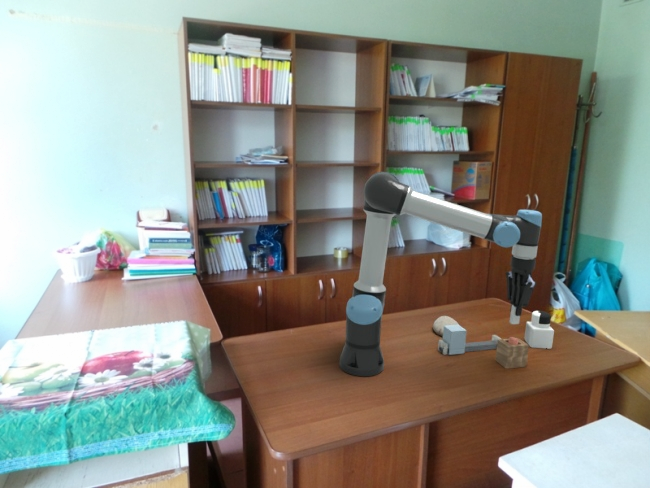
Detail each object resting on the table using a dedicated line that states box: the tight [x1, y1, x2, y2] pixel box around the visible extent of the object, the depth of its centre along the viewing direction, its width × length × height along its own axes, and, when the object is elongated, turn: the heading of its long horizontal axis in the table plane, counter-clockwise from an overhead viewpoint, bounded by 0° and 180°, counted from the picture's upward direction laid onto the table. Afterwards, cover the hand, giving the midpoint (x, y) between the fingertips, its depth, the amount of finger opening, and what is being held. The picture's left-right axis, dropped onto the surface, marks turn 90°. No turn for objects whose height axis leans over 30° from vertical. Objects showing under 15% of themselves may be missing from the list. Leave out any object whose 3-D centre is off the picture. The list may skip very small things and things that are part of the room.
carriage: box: [442, 324, 467, 356], centre depth 164 cm, size 6×6×9 cm
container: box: [524, 310, 555, 350], centre depth 171 cm, size 8×8×13 cm
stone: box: [432, 315, 460, 337], centre depth 182 cm, size 13×10×8 cm
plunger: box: [508, 336, 518, 345], centre depth 155 cm, size 3×3×8 cm
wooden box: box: [495, 337, 530, 370], centre depth 155 cm, size 8×6×8 cm
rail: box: [437, 334, 502, 355], centre depth 166 cm, size 24×4×4 cm, turn 104°
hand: (514, 323), depth 153 cm, fingers closed
